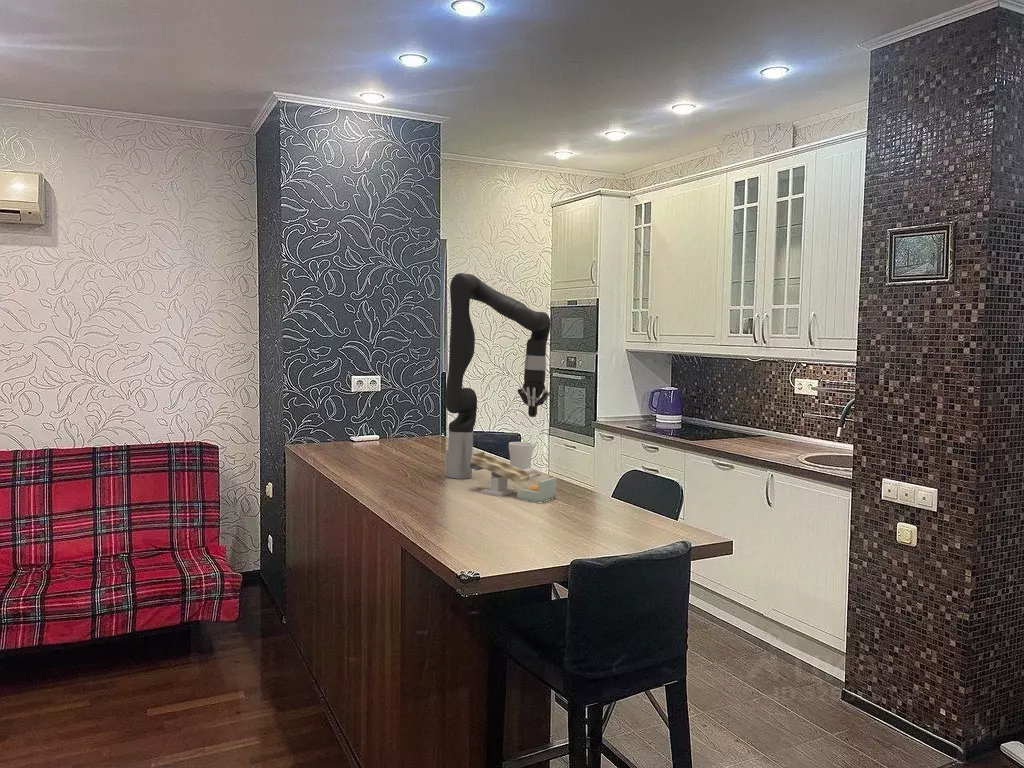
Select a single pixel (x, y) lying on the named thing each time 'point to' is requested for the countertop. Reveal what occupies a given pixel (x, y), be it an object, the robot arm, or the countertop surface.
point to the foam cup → (521, 454)
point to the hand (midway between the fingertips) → (532, 416)
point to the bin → (540, 491)
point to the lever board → (501, 468)
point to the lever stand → (498, 486)
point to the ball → (534, 488)
